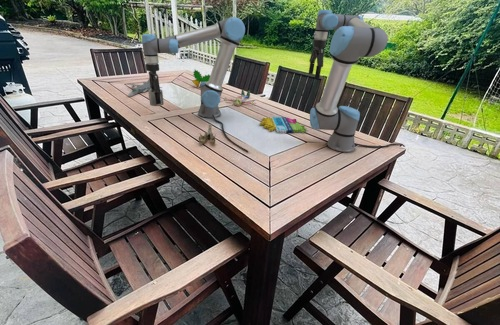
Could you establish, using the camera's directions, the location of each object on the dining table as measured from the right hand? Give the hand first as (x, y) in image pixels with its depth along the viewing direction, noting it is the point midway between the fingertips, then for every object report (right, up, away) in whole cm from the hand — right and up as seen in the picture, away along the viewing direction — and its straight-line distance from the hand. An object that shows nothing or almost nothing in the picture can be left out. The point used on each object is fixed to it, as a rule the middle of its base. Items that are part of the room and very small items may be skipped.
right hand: (313, 76), depth 167 cm
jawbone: (-64, -44, -19) cm, 80 cm away
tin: (-99, -19, -3) cm, 101 cm away
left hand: (-99, -17, -3) cm, 101 cm away
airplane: (-135, +7, +63) cm, 149 cm away
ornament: (-86, +18, +88) cm, 124 cm away
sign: (-19, -30, +10) cm, 37 cm away
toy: (-48, -4, +54) cm, 72 cm away
